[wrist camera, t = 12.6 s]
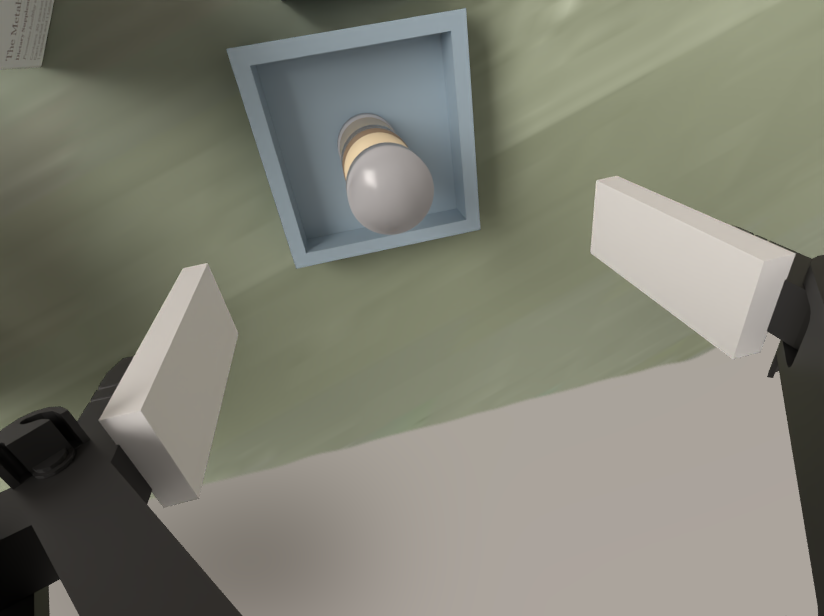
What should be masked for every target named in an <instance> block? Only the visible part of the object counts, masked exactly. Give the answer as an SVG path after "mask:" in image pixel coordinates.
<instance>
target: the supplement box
mask: <svg viewBox="0 0 824 616" xmlns="http://www.w3.org/2000/svg"><path fill="white" fill-rule="evenodd" d="M53 4H54V0H0V70H2V69H19V68H37V67H41V65H42V61H43V56H44V50H45V45H46V40H47V35H48V30H49V25H50V20H51V15H52V9H53Z"/></svg>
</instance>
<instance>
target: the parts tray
mask: <svg viewBox="0 0 824 616" xmlns="http://www.w3.org/2000/svg"><path fill="white" fill-rule="evenodd" d="M226 51H227V54H228V57H229V60H230V63H231V66H232V69H233V72H234V76H235V79H236V82H237V85H238V88H239V91H240V94H241V97H242V101H243V104H244V107H245V110H246V113H247V116H248V119H249V122H250V126H251V129H252V132H253V135H254V138H255V141H256V144H257V147H258V151H259V154H260V157H261V160H262V163H263V166H264V169H265V172H266V176H267V179H268V182H269V185H270V188H271V191H272V194H273V197H274V201H275V204H276V207H277V210H278V213H279V216H280V219H281V222H282V226H283V229H284V232H285V235H286V238H287V241H288V244H289V247H290V251H291V254H292V257H293V260H294V263H295V266H296V268H301V267H306V266H311V265H315V264H320V263H325V262H330V261H334V260H339V259H344V258H348V257H353V256H358V255H363V254H367V253H372V252H377V251H382V250H386V249H391V248H396V247H400V246H405V245H410V244H415V243H419V242H424V241H429V240H434V239H438V238H443V237H448V236H452V235H457V234H462V233H467V232H471V231H476V230H480V216H479V200H478V185H477V170H476V154H475V139H474V124H473V108H472V93H471V78H470V62H469V47H468V32H467V16H466V8H464V9H458V10H452V11H446V12H440V13H434V14H428V15H422V16H417V17H411V18H405V19H399V20H393V21H387V22H381V23H375V24H369V25H363V26H358V27H352V28H346V29H340V30H334V31H328V32H322V33H316V34H310V35H305V36H299V37H293V38H287V39H281V40H275V41H269V42H263V43H257V44H251V45H246V46H240V47H234V48H228V49H226ZM360 113H373V114H376V115H379V116H381V117H382V118H384V119H385V120H386V121H387V122H388V123H389V124H390V125H391V126H392V128H393V129H394V130H395V132H396V133H397V134H398V136H399V137H400V138H401V139H402V140H403V141H404V142H405V143H406V145H407V146H408V147H409V149H411V150H412V151H413V152H414V153H416V154H417V156H418V157H419V158H420V159H421V160H422V161H423V162H424V163H425V165H426V166H427V168H428V169H429V171H430V173H431V176H432V179H433V184H434V197H433V202H432V205H431V207H430V209H429V211H428V213H427V215H426V216H425V217H424V219H423V220H422V221H421V222H420V223H419V224H418V225H416V226H415V227H414V228H412V229H410V230H408V231H406V232H403V233H400V234H394V235H385V234H379V233H376V232H373V231H371V230H369V229H367V228H366V227H364V226H363V225H362V224H361V223H360V222H359V221H358V220H357V219H356V218H355V216H354V214H353V213H352V211H351V208H350V205H349V202H348V197H347V192H346V181H345V177H344V173H343V168H342V162H341V159H340V156H339V152H338V147H337V140H338V135H339V132H340V129H341V127H342V126H343V124H344V123H345V122H346V121H347V120H348V119H349V118H351V117H352V116H354V115H357V114H360Z"/></svg>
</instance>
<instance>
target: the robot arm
mask: <svg viewBox="0 0 824 616" xmlns="http://www.w3.org/2000/svg"><path fill="white" fill-rule="evenodd" d="M590 253H591V254H593V255H594V256H595V257H597V258H598V259H599V260H601V261H602V262H603V263H605V264H606V265H607V266H609V267H610V268H611V269H613V270H614V271H615V272H617V273H618V274H619V275H621V276H622V277H623V278H625V279H626V280H627V281H629V282H630V283H631V284H633V285H634V286H635V287H637V288H638V289H639V290H641V291H642V292H643V293H645V294H646V295H647V296H649V297H650V298H651V299H653V300H654V301H655V302H657V303H658V304H659V305H661V306H662V307H663V308H665V309H666V310H667V311H669V312H670V313H671V314H673V315H674V316H675V317H677V318H678V319H679V320H681V321H682V322H683V323H685V324H686V325H687V326H689V327H690V328H691V329H693V330H694V331H695V332H697V333H698V334H699V335H701V336H702V337H703V338H705V339H706V340H707V341H709V342H710V343H711V344H713V345H714V346H715V347H717V348H718V349H719V350H721V351H722V352H723V353H725V354H726V355H728V356H729V357H730V358H732V359H736V358H741V357H744V356H748V355H752V354H756V353H760V352H761V350H762V347H763V344H764V341H765V338H766V335H767V333H768V332H769V333H771V334H773V335H774V336H776V337H777V338H779V339H781V341H780V343H779V346H778V349H777V351H776V354H775V357H774V359H773V362H772V365H771V367H770V370H769V373H768V376H767V377H771V378H773V376H774V374H775V372H777V371H779V373H780V379H781V385H782V391H783V397H784V403H785V409H786V415H787V421H788V428H789V434H790V439H791V446H792V452H793V457H794V464H795V470H796V476H797V482H798V488H799V494H800V501H801V506H802V513H803V519H804V525H805V531H806V537H807V543H808V549H809V555H810V561H811V567H812V574H813V579H814V586H815V592H816V598H817V604H818V616H824V255H821V256H817V257H815V258H813V259H811V258H809V257H806V256H804V255H802V254H800V253H797V252H795V251H793V250H790V249H788V248H786V247H783V246H781V245H779V244H776V243H774V242H772V241H767V239H765V238H762V237H760V236H758V235H755V236H754V234H753V233H751V232H749V231H746V230H744V229H742V228H739V227H737V226H732V225H729V224H727V223H724V222H722V221H720V220H717V219H715V218H713V217H710V216H708V215H706V214H704V213H701V212H699V211H697V210H694V209H692V208H690V207H687V206H685V205H683V204H681V203H678V202H676V201H674V200H671V199H669V198H667V197H665V196H662V195H660V194H658V193H655V192H653V191H651V190H648V189H646V188H644V187H642V186H639V185H637V184H635V183H632V182H630V181H628V180H625V179H623V178H621V177H619V176H614V177H609V178H605V179H600V180H596V190H595V203H594V215H593V227H592V240H591V252H590ZM237 337H238V331H237V329H236V326H235V324H234V322H233V320H232V317H231V315H230V313H229V310H228V308H227V306H226V304H225V301H224V299H223V297H222V294H221V292H220V290H219V288H218V285H217V283H216V281H215V278H214V276H213V274H212V272H211V269H210V267H209V265H208V263H205V264H200V265H196V266H191V267H186V268H183V269H182V271H181V273H180V274H179V276H178V278H177V280H176V282H175V283H174V285H173V287H172V289H171V291H170V292H169V294H168V296H167V298H166V300H165V301H164V303H163V305H162V307H161V309H160V310H159V312H158V314H157V316H156V318H155V320H154V321H153V323H152V325H151V327H150V329H149V330H148V332H147V334H146V336H145V338H144V339H143V341H142V343H141V345H140V347H139V348H138V350H137V352H136V354H135V356H132V357H127V358H123V359H122V360H121V361H120V362H118V363H117V364H116V365H115V366H114V367H113V368H112V369H111V370H110V371H109V372H107V374H106V375H105V377H104V378H103V380H102V382H101V383H100V385H99V387H98V390H97V391H96V392H95V393H94V395H93V397H92V398H91V402H90V403H88V405H87V406H86V408H85V410H84V411H83V413H82V415H81V416H80V418H79V420H78V421H76V420H75V419H74V417H73V416H72V415H71V414H70V412H69V411H68V410H67V409H65V408H63V407H47V408H44V409H41V410H37V411H34V412H32V413H30V414H27V415H25V416H23V417H21V418H19V419H17V420H16V421H14V422H13V423H11V424H10V425H8V426H6V427H5V428H3V429H2V430H1V431H0V477H1V478H2V479H3V480H4V481H5V482H6V483H7V484H8V485H9V486H10V487H11V488H9V489H7V490H5V491H3V492H0V616H49V587H48V586H49V585H50V584H52V583H54V582H55V581H57V580H59V579H60V580H61V581H62V583H63V585H64V587H65V589H66V591H67V593H68V595H69V597H70V598H71V601H72V602H73V604H74V606H75V608H76V610H77V612H78V614H79V616H242V615H241V614H240V612H239V611H238V610H237V609H236V608H235V607H234V606H233V604H232V603H231V602H230V601H229V600H228V599H227V597H226V596H225V595H224V594H223V593H222V592H221V590H220V589H219V588H218V587H217V586H216V585H215V583H214V582H213V581H212V580H211V579H210V578H209V576H208V575H207V574H206V573H205V572H204V571H203V569H202V568H201V567H200V566H199V565H198V564H197V562H196V561H195V560H194V559H193V558H192V557H191V556H190V554H189V553H188V552H187V551H186V550H185V548H184V547H182V545H181V544H180V543H179V542H178V540H177V539H176V538H175V537H174V536H173V534H172V533H171V532H170V531H169V530H168V529H167V527H166V526H165V525H164V524H163V523H162V522H161V521H160V519H159V518H158V517H157V516H156V515H155V514H154V512H153V511H152V510H151V509H150V508H149V507H148V505H147V503H148V500H149V497H150V495H151V492H152V493H153V494H154V496H155V497H156V498H157V500H158V501H159V502H160V504H161V505H162V506H163V507H168V506H172V505H176V504H180V503H184V502H188V501H192V500H195V499H199V496H200V492H201V487H202V483H203V479H204V475H205V471H206V467H207V462H208V458H209V454H210V450H211V446H212V442H213V437H214V433H215V429H216V425H217V421H218V417H219V412H220V408H221V404H222V400H223V396H224V392H225V387H226V383H227V379H228V375H229V371H230V367H231V362H232V358H233V354H234V350H235V346H236V342H237Z"/></svg>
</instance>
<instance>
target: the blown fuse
mask: <svg viewBox="0 0 824 616" xmlns="http://www.w3.org/2000/svg"><path fill="white" fill-rule="evenodd" d="M337 147H338V152H339V156H340V159H341V162H342V168H343V173H344V177H345V181H346V192H347V197H348V202H349V205H350V208H351V211H352V213H353V214H354V216H355V218H356V219H357V220H358V221H359V222H360V223H361V224H362V225H363V226H364V227H366V228H367V229H369V230H371V231H373V232H376V233H379V234H385V235H394V234H400V233H403V232H406V231H408V230H410V229H412V228H414V227H415V226H416V225H418V224H419V223H420V222H421V221H422V220H423V219H424V217H425V216H426V215H427V213H428V211H429V209H430V207H431V205H432V202H433V197H434V184H433V179H432V176H431V173H430V171H429V169H428V168H427V166H426V165H425V163H424V162H423V161H422V160H421V159H420V158H419V157H418V156H417V154H416V153H414V152H413V151H412V150H411V149H409V147H408V146H407V145H406V143H405V142H404V141H403V140H402V139H401V138H400V137H399V136H398V134H397V133H396V132H395V130H394V129H393V128H392V126H391V125H390V124H389V123H388V122H387V121H386V120H385V119H384V118H382V117H381V116H379V115H376V114H373V113H360V114H357V115H354V116H352V117H351V118H349V119H348V120H347V121H346V122H345V123H344V124H343V126H342V127H341V129H340V132H339V135H338V140H337Z"/></svg>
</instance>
